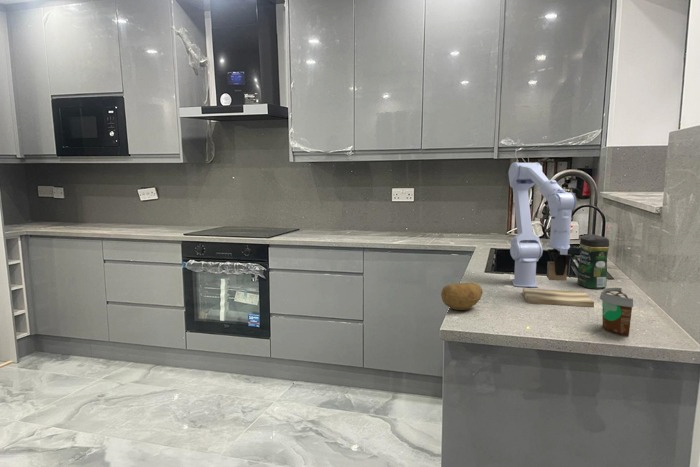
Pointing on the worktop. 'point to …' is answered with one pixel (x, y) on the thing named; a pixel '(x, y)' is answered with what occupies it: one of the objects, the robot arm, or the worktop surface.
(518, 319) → the worktop surface
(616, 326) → the food container
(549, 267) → the walnut cube
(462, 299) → the potato
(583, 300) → the oak board
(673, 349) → the worktop surface
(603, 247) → the coffee jar
